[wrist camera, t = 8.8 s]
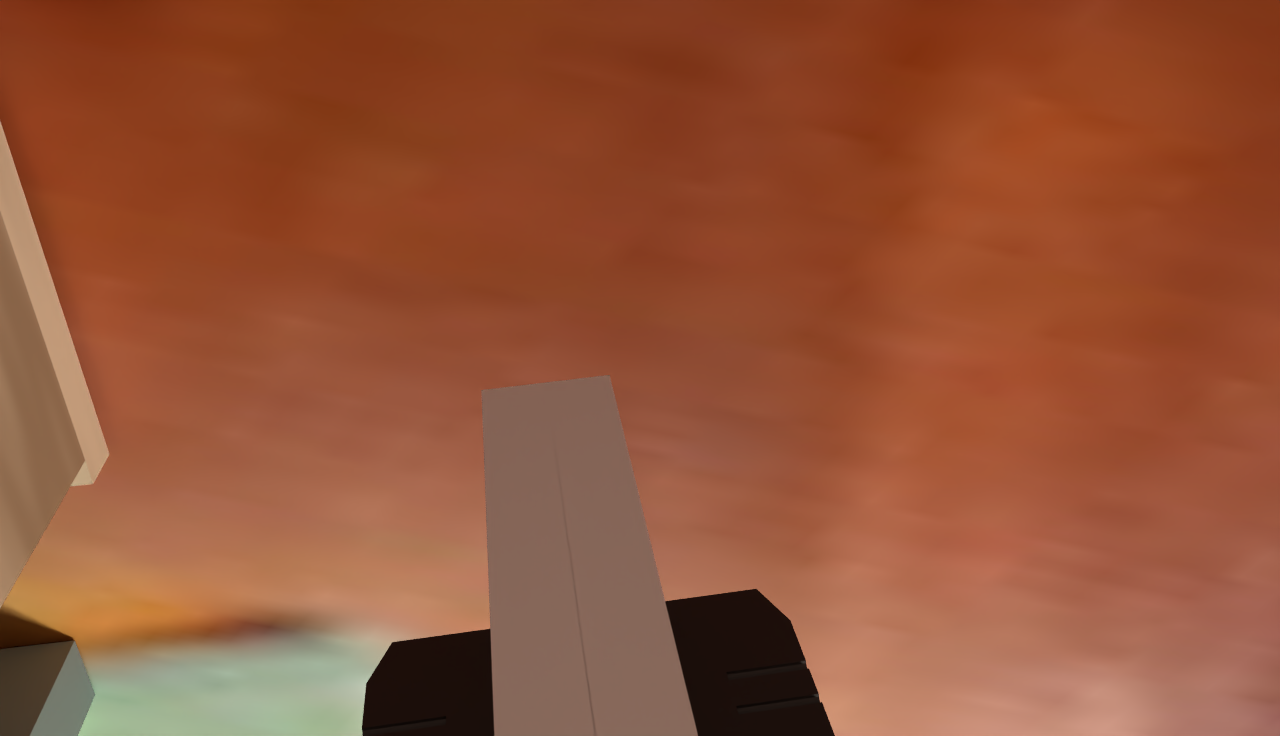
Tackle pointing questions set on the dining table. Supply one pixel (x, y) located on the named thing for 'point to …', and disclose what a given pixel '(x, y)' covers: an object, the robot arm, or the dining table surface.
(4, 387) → the paddle
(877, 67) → the dining table surface
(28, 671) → the bridge
